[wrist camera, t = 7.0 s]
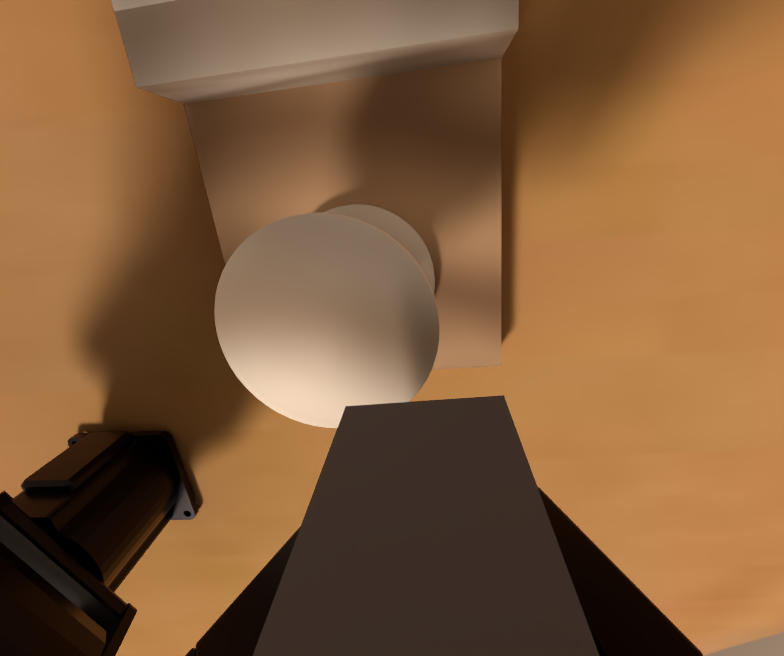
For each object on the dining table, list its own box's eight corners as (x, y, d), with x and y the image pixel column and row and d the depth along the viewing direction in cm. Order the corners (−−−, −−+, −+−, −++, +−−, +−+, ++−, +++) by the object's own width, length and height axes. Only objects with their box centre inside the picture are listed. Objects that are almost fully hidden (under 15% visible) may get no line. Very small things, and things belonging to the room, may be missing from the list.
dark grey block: (503, 395, 8) (612, 690, 3) (507, 518, 9) (591, 862, 4) (345, 406, 8) (243, 678, 4) (369, 521, 10) (314, 836, 5)
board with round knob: (495, 352, 18) (540, 457, 11) (266, 365, 20) (176, 466, 13) (492, -230, 12) (604, -919, 4) (142, -148, 13) (-212, -569, 6)
